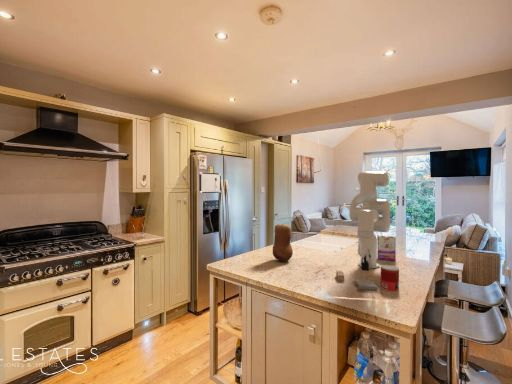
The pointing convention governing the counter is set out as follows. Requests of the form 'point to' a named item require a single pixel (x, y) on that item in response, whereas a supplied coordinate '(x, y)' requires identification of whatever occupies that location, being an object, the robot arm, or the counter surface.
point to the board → (366, 289)
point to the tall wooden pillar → (340, 275)
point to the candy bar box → (386, 247)
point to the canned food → (390, 277)
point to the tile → (366, 284)
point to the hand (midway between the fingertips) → (364, 270)
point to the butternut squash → (282, 243)
